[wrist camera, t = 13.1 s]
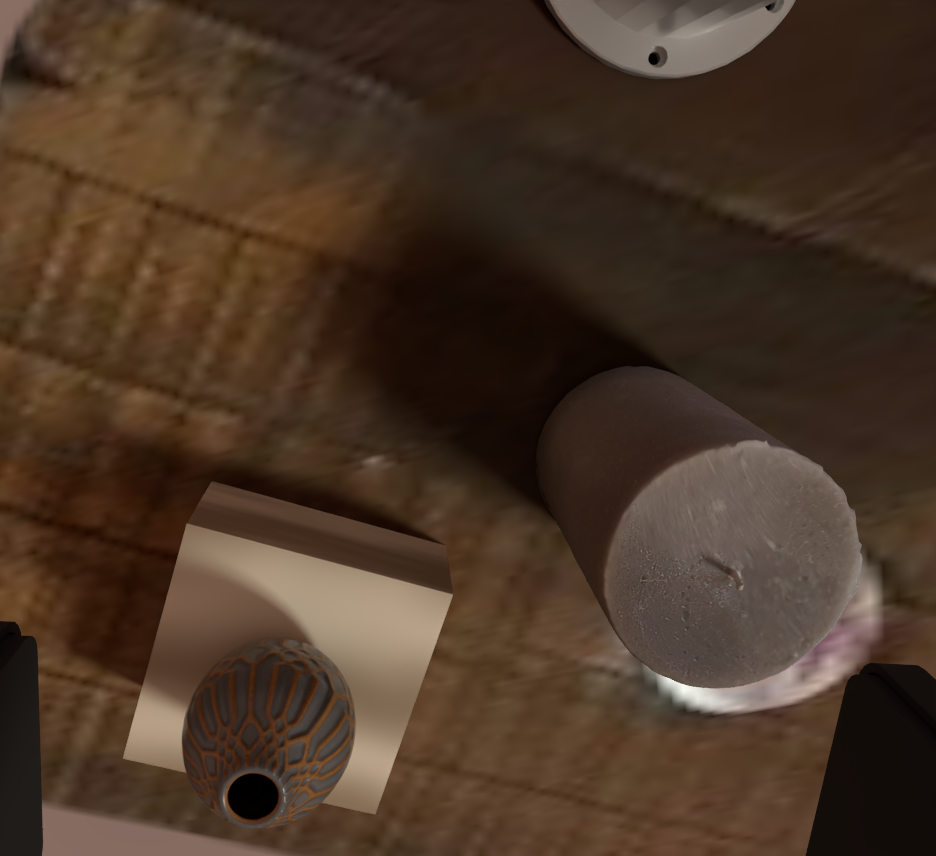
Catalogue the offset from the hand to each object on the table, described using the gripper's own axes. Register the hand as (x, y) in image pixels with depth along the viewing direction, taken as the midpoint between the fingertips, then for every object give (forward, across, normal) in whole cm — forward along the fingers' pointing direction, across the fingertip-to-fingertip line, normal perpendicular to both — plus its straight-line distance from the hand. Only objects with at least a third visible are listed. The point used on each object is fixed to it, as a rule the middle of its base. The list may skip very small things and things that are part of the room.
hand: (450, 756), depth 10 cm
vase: (+28, +4, +16) cm, 32 cm away
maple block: (+34, +4, +16) cm, 38 cm away
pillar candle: (+34, -12, +6) cm, 36 cm away
